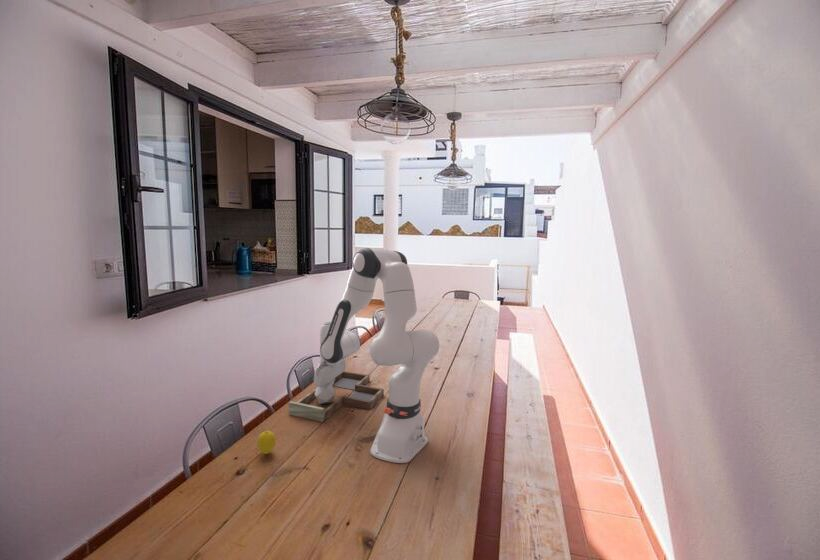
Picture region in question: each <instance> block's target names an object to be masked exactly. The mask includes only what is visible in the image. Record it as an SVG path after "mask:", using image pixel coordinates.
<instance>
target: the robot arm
mask: <svg viewBox="0 0 820 560" xmlns="http://www.w3.org/2000/svg"><path fill="white" fill-rule="evenodd" d="M348 276H349V277H348V279H347V283H346V287H345V290H344V292H343V295H342V297H341V299H340V300H339V302H338V304H337V306H336V308H335V310H334V312H333V316H332V319H331V321H328V322H324V323H323V324H322V325H321V328H320V333H319V343H320V346H319V347H320V349H319V363H320V364H318V365H317V367H316V368H315V370H314V373H313V374H314V376H313V385H314V387H316V388H317V387H322V386H324V385H325V384H327V383H331V385H332V387H333V388H334V386H333V384H335V383H334V381H335V378H336V377H337V376H338V375H340V374H341V373H343V372H344V371H346V365H347V363H346V362H347V361H346V358H347V357H349V356H351V355H353V354H355V353H357V352H359V350H360V348H361V339H360V337H359V335H358V334H357V333H356V332H354V331H351V330H348V329H347V326H348V323H349V322H350V320H351V319H352V318H353V317H354V316H355V315H356V314H357V313H359V312H360V311H362V310H364V309H365V308H366V307H368V306H369V304H370V302H371V301H372V299H373V296H374V293H375V289H376V283H377V280H378V279H379V280H380V281H381V283H382V288H383V298H384V299H383V301H384V321H383V324H382V327H381V329H380V331H379V333H378V334H377V335H376V336H375V337H374V338H373V340H372V341H371V343H370V346H369V354H370V357H371V360H372V361H373V362H374V363H375V364H376V365H377V366H384V367H393V366H399V365H400V367H399V368H397V370H396V371H394V372H393V373H392V374H391V376H390V378H389V379H388V398H387V400H386V405H385V407H384V409H383V418H382V421H381V424H380V427H379V429H378V431H377V433H376V436H375V438H374V440H373V443H372V445H371V448H370V451H369V454H370V455H371V456H372V457H374V458H377V459H379V460H382V461H385V462H390V463H395V464H396V463H398V464H406V463H409V462H411V460H413V458H414V457H415V456H416V455H417V454H418V453H419V452H420V451H421V450H422V449H423V448H425V446H426V445H427V444H428V443H429V439H428V437H427V436H426V435H425V418H424V416H423V414H422V413H421V407H422V403H421V399H420V392H421V384H422V383H421V382H422V378H423V375H424V373H425V371H426V369H427V367H428V365H429V364H430V362H431V361H432V360H433V359H434V357H436V356H437V354H438V353H439V350H440V340H439V338H438V336H437V334H436V333H435V332H434V331H433V330H426V329H416V330H415V329H414V330H407V331H406V326H407V324H408V321H409V322H410V320H412V319H413V318H414V317H415V316H416V314H417V310H418V309H417V300H416V293H415V292H416V291H415V286H414V285H415V284H414V280H413V276H412V272H411V270H410V267H409V265H408V259H407V257H406V256H405V255H404V253H402V252H400V251H397V250H389V249H385V248H369V247H366V248H361V249H358V250H357V251H356V252H355V253H354V256H353V258H352V268H351V270H350V273H349V275H348Z"/></svg>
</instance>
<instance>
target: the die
mask: <svg viewBox="0 0 820 560" xmlns="http://www.w3.org/2000/svg"><path fill="white" fill-rule="evenodd" d="M316 388H317V389H316ZM316 388H315V389H316V392H315V396H316V397H315V398H316V399H317V402H318V403H319V405H324V404H329V403H332V402H333V401H334V398H335V396H336V391H335V389H334V386H333V387H332V385H331V383H327V384H325V385H324V386H322V387H317V386H316Z"/></svg>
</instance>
